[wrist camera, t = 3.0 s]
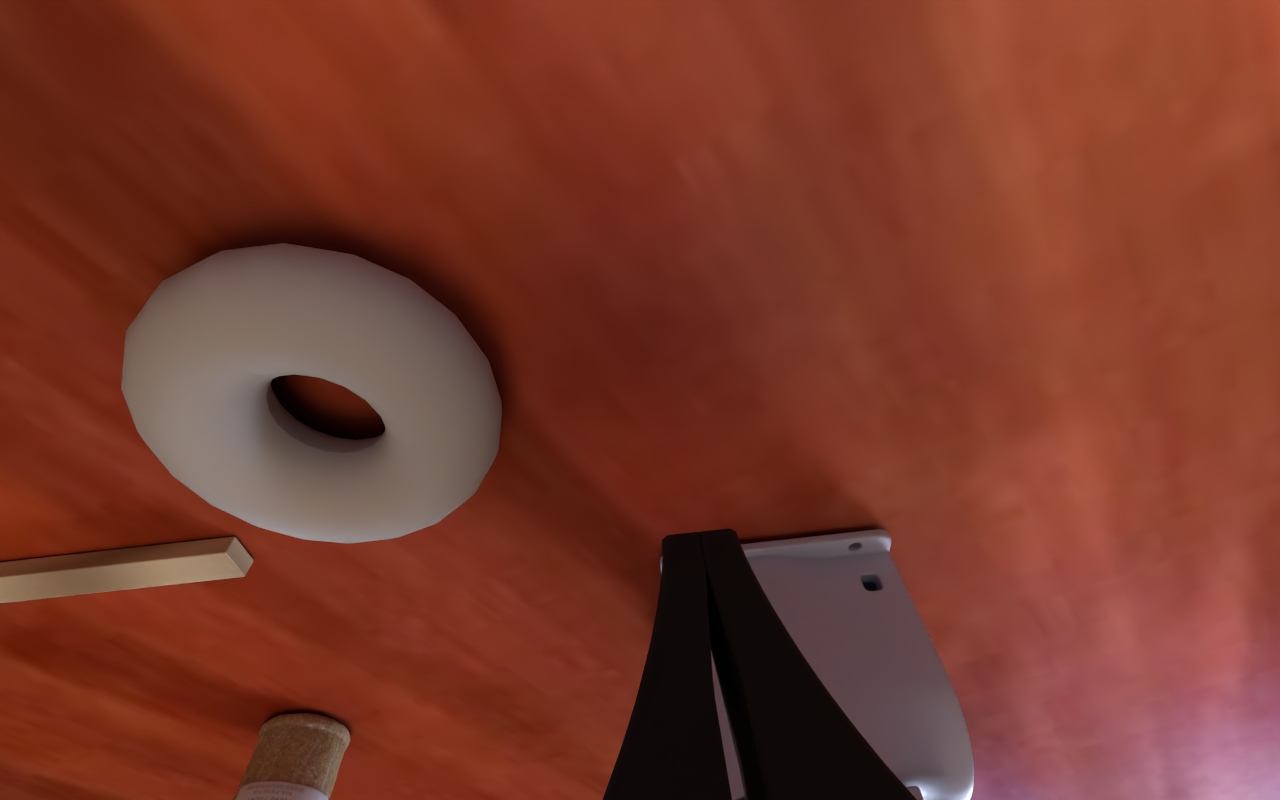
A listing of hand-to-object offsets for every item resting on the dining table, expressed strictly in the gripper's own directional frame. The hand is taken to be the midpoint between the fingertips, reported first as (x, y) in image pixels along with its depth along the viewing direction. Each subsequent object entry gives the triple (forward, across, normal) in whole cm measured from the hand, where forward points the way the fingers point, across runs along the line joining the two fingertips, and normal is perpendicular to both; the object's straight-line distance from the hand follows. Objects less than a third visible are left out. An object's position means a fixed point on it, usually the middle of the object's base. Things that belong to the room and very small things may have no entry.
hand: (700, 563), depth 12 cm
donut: (+9, +10, 0) cm, 13 cm away
